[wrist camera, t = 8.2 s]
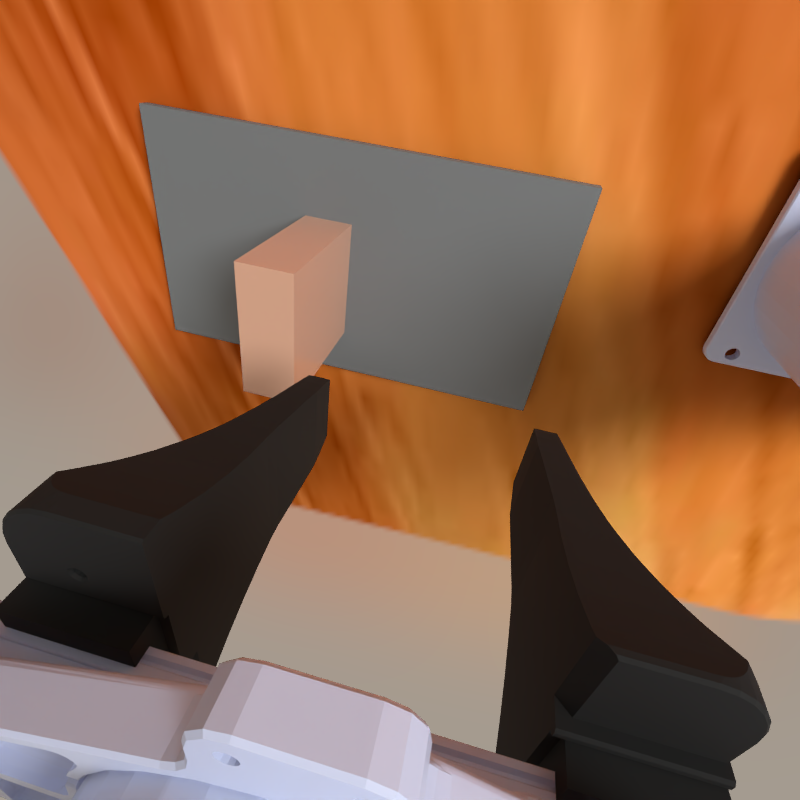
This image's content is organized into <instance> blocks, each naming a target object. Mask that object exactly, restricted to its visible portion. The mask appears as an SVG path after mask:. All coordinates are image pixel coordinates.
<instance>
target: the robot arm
mask: <svg viewBox="0 0 800 800" xmlns="http://www.w3.org/2000/svg"><path fill="white" fill-rule="evenodd" d="M730 349H736V352H735V353H734V354H732V355H725V353H726V352H727V351H728V350H730ZM703 353H704V355H705V356H706V358H707V359H708V360H710V361H712V362H717V363H722V364H726V365H731V366H736V367H740V368H745V369H749V370H754V371H759V372H763V373H768V374H773V375H777V376H782V377H787V378H791V379H793V381H794V382H795V383H796V384H797V385H798V386H799V387H800V180H799V181H798V183H797V185H796V186H795V188H794V190H793V192H792V193H791V195H790V197H789V199H788V200H787V202H786V204H785V205H784V207H783V209H782V211H781V212H780V214H779V216H778V218H777V219H776V221H775V223H774V225H773V226H772V228H771V230H770V231H769V233H768V235H767V237H766V238H765V240H764V242H763V244H762V245H761V247H760V249H759V251H758V252H757V254H756V256H755V257H754V259H753V261H752V263H751V264H750V266H749V268H748V270H747V271H746V273H745V275H744V276H743V278H742V280H741V282H740V283H739V285H738V287H737V289H736V290H735V292H734V294H733V296H732V297H731V299H730V301H729V302H728V304H727V306H726V308H725V309H724V311H723V313H722V315H721V316H720V318H719V320H718V321H717V323H716V325H715V327H714V328H713V330H712V332H711V334H710V335H709V337H708V339H707V341H706V342H705V344H704V346H703ZM329 385H330V380H328V379H324V378H320V377H316V376H311V375H309V376H307V377H305V378H303V379H302V380H300V381H299V382H297V383H295V384H294V385H292V386H290V387H289V388H287V389H286V390H284V391H282V392H281V393H279V394H278V395H276V396H274V397H273V398H271V399H269V400H268V401H266V402H264V403H262V404H261V405H259V406H257V407H256V408H254V409H252V410H250V411H248V412H246V413H244V414H242V415H240V416H239V417H237V418H235V419H233V420H231V421H229V422H227V423H225V424H223V425H221V426H218V427H216V428H214V429H212V430H209V431H207V432H204V433H202V434H200V435H197V436H195V437H192V438H189V439H187V440H184V441H181V442H178V443H175V444H172V445H169V446H166V447H163V448H160V449H157V450H154V451H150V452H147V453H143V454H140V455H136V456H132V457H128V458H124V459H120V460H116V461H112V462H107V463H102V464H97V465H91V466H86V467H81V468H75V469H70V470H64V471H58V472H55V473H54V474H53V475H52V476H51V477H49V478H48V479H47V480H46V481H44V482H43V483H42V484H41V485H40V486H39V487H37V488H36V489H35V490H34V491H33V492H31V493H30V494H29V495H28V496H27V497H25V498H24V499H23V500H22V501H21V502H20V503H18V504H17V505H16V506H15V507H14V508H13V509H11V510H10V511H9V512H8V513H7V514H6V516H5V517H4V518H3V534H4V537H5V539H6V542H7V544H8V546H9V547H10V549H11V551H12V553H13V555H14V556H15V558H16V560H17V562H18V563H19V565H20V567H21V569H22V571H23V573H24V574H25V576H26V578H25V579H24V580H23V581H22V582H21V583H20V584H19V585H18V586H17V587H16V588H15V589H14V590H13V591H12V592H11V593H10V594H9V595H8V596H7V597H6V598H5V599H4V600H3V601H1V600H0V797H3V798H5V799H7V800H731V797H730V794H729V790H728V789H730V790H732V789H734V788H735V786H736V780H735V777H734V773H733V770H732V767H731V763H730V761H732V760H733V759H735V758H736V757H738V756H739V755H741V754H742V753H744V752H745V751H746V750H748V749H750V748H751V747H753V746H754V745H755V744H757V743H758V742H759V741H760V740H761V739H762V738H763V737H764V736H765V735H766V734H767V732H768V731H769V728H770V724H771V719H770V717H769V714H768V711H767V708H766V705H765V702H764V699H763V697H762V694H761V691H760V688H759V685H758V683H757V681H756V678H755V676H754V674H753V671H752V669H751V667H750V665H749V663H748V661H747V660H746V659H745V658H744V657H742V656H741V655H740V654H739V653H738V652H736V651H735V650H734V649H733V648H732V647H730V646H729V645H728V644H727V643H725V642H724V641H723V640H722V639H721V638H719V637H718V636H717V635H716V634H714V633H713V632H712V631H711V630H710V629H709V628H707V627H706V626H705V625H704V624H703V623H702V622H700V621H699V620H698V619H697V618H696V617H695V616H694V615H693V614H692V613H691V612H690V611H688V610H687V609H686V608H685V607H684V606H683V605H682V604H681V603H680V602H679V601H678V600H677V599H676V598H675V597H674V596H673V595H672V594H671V593H670V592H669V591H668V590H667V589H666V588H665V587H664V586H663V585H662V584H661V583H660V582H659V581H658V580H657V579H656V578H655V577H654V576H653V575H652V574H651V573H650V572H649V571H648V569H647V568H646V567H645V566H644V565H643V564H642V563H641V562H640V561H639V560H638V558H637V557H636V556H635V555H634V554H633V553H632V551H631V550H630V549H629V548H628V546H627V545H626V544H625V543H624V541H623V540H622V539H621V538H620V536H619V535H618V534H617V533H616V531H615V530H614V529H613V527H612V526H611V525H610V523H609V522H608V521H607V519H606V518H605V516H604V515H603V513H602V512H601V510H600V509H599V507H598V506H597V504H596V503H595V501H594V500H593V498H592V496H591V495H590V493H589V491H588V490H587V488H586V486H585V484H584V483H583V481H582V479H581V478H580V476H579V474H578V472H577V470H576V469H575V467H574V465H573V463H572V461H571V459H570V457H569V455H568V454H567V452H566V450H565V448H564V446H563V444H562V442H561V440H560V438H559V436H558V435H557V434H555V433H551V432H547V431H543V430H539V429H534V430H533V433H532V436H531V438H530V441H529V444H528V446H527V449H526V451H525V454H524V457H523V459H522V462H521V464H520V467H519V470H518V472H517V475H516V477H515V480H514V483H513V492H512V501H511V511H510V539H511V579H512V580H511V581H512V596H511V597H512V598H511V614H510V615H511V616H510V627H509V638H508V649H507V659H506V669H505V680H504V688H503V698H502V706H501V715H500V724H499V731H498V739H497V747H496V753H493V752H490V751H487V750H483V749H480V748H477V747H474V746H471V745H467V744H464V743H461V742H458V741H455V740H451V739H448V738H445V737H442V736H438V735H435V734H432V733H430V728H429V727H428V725H427V724H426V722H425V721H424V720H423V719H421V718H420V717H419V716H418V715H417V714H416V713H415V712H413V711H412V710H411V709H410V708H408V707H405V706H403V705H401V704H399V703H396V702H394V701H392V700H390V699H387V698H385V697H382V696H378V695H375V694H371V693H368V692H365V691H362V690H359V689H355V688H352V687H349V686H345V685H342V684H339V683H336V682H332V681H329V680H326V679H322V678H319V677H316V676H313V675H309V674H306V673H303V672H299V671H296V670H293V669H290V668H286V667H283V666H280V665H276V664H273V663H270V662H267V661H261V660H255V659H249V658H243V657H242V658H238V659H233V660H229V661H226V662H223V663H220V664H219V666H218V667H216V665H217V662H218V660H219V657H220V654H221V652H222V650H223V647H224V645H225V642H226V639H227V637H228V635H229V632H230V630H231V627H232V625H233V622H234V620H235V618H236V615H237V613H238V611H239V608H240V605H241V603H242V601H243V599H244V596H245V594H246V592H247V590H248V587H249V585H250V583H251V581H252V578H253V576H254V574H255V571H256V569H257V567H258V565H259V563H260V561H261V558H262V556H263V554H264V552H265V550H266V548H267V546H268V543H269V541H270V539H271V537H272V535H273V533H274V532H275V530H276V528H277V526H278V524H279V523H280V521H281V519H282V518H283V516H284V514H285V512H286V511H287V509H288V508H289V506H290V504H291V503H292V501H293V499H294V498H295V496H296V494H297V493H298V491H299V489H300V488H301V486H302V484H303V483H304V481H305V479H306V478H307V476H308V474H309V473H310V471H311V469H312V468H313V466H314V464H315V462H316V460H317V457H318V455H319V453H320V450H321V448H322V446H323V443H324V441H325V438H326V436H327V422H328V403H329Z"/></svg>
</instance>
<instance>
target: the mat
mask: <svg viewBox="0 0 800 800" xmlns="http://www.w3.org/2000/svg"><path fill="white" fill-rule="evenodd" d="M139 106H140V113H141V119H142V125H143V131H144V137H145V143H146V150H147V156H148V162H149V168H150V174H151V181H152V187H153V193H154V199H155V205H156V211H157V218H158V224H159V230H160V236H161V242H162V249H163V255H164V261H165V267H166V273H167V279H168V286H169V292H170V298H171V304H172V310H173V317H174V323H175V329H176V330H180V331H185V332H189V333H193V334H197V335H202V336H206V337H210V338H214V339H219V340H223V341H227V342H232V343H236V344H240V337H239V324H238V311H237V297H236V284H235V271H234V261H235V260H236V259H238V258H239V257H241V256H243V255H244V254H246V253H247V252H249V251H250V250H252V249H254V248H255V247H257V246H258V245H260V244H261V243H263V242H265V241H266V240H268V239H269V238H271V237H272V236H274V235H276V234H277V233H279V232H280V231H282V230H283V229H285V228H286V227H288V226H290V225H291V224H293V223H294V222H296V221H297V220H299V219H301V218H302V217H304V216H305V215H306V216H311V217H316V218H321V219H326V220H331V221H336V222H341V223H346V224H351V225H352V228H351V243H350V257H349V272H348V286H347V301H346V315H345V329H344V334H343V335H342V336H341V338H340V339H339V341H338V342H337V343H336V345H335V346H334V348H333V349H332V351H331V352H330V353H329V355H328V356H327V358H326V359H325V360H324V362H323V363H322V364H325V365H330V366H334V367H338V368H342V369H347V370H351V371H355V372H359V373H364V374H368V375H372V376H377V377H381V378H385V379H389V380H394V381H398V382H402V383H406V384H411V385H415V386H419V387H423V388H428V389H432V390H436V391H441V392H445V393H449V394H453V395H458V396H462V397H466V398H470V399H475V400H479V401H483V402H487V403H492V404H496V405H500V406H505V407H509V408H513V409H517V410H522V411H523V410H524V407H525V404H526V401H527V398H528V396H529V393H530V390H531V387H532V384H533V382H534V379H535V376H536V373H537V370H538V368H539V365H540V362H541V359H542V356H543V354H544V351H545V348H546V345H547V342H548V340H549V337H550V334H551V331H552V328H553V325H554V323H555V320H556V317H557V314H558V311H559V309H560V306H561V303H562V300H563V297H564V295H565V292H566V289H567V286H568V283H569V281H570V278H571V275H572V272H573V269H574V267H575V264H576V261H577V258H578V255H579V253H580V250H581V247H582V244H583V241H584V238H585V236H586V233H587V230H588V227H589V224H590V222H591V219H592V216H593V213H594V210H595V208H596V205H597V202H598V199H599V196H600V194H601V191H602V187H601V186H599V185H594V184H588V183H583V182H577V181H572V180H566V179H561V178H555V177H550V176H545V175H539V174H534V173H528V172H523V171H517V170H512V169H506V168H501V167H496V166H490V165H485V164H479V163H474V162H468V161H463V160H457V159H452V158H447V157H441V156H436V155H430V154H425V153H419V152H414V151H408V150H403V149H398V148H392V147H387V146H381V145H376V144H370V143H365V142H359V141H354V140H349V139H343V138H338V137H332V136H327V135H321V134H316V133H310V132H305V131H300V130H294V129H289V128H283V127H278V126H272V125H267V124H261V123H256V122H251V121H245V120H240V119H234V118H229V117H223V116H218V115H212V114H207V113H202V112H196V111H191V110H185V109H180V108H174V107H169V106H163V105H158V104H153V103H139Z"/></svg>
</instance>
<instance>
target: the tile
mask: <svg viewBox="0 0 800 800" xmlns="http://www.w3.org/2000/svg"><path fill="white" fill-rule="evenodd" d="M351 228H352V225H351V224H346V223H341V222H336V221H331V220H326V219H321V218H316V217H311V216H306V215H305V216H304V217H302V218H301V219H299V220H297V221H296V222H294V223H293V224H291V225H290V226H288V227H286V228H285V229H283V230H282V231H280V232H279V233H277V234H276V235H274V236H272V237H271V238H269V239H268V240H266V241H265V242H263V243H261V244H260V245H258V246H257V247H255V248H254V249H252V250H250V251H249V252H247V253H246V254H244V255H243V256H241V257H239V258H238V259H236V260H235V261H234V271H235V284H236V297H237V311H238V324H239V337H240V350H241V363H242V377H243V390H244V391H246V392H250V393H254V394H258V395H262V396H266V397H270V398H273V397H274V396H276V395H278V394H279V393H281V392H282V391H284V390H286V389H287V388H289V387H290V386H292V385H294V384H295V383H297V382H299V381H300V380H302V379H303V378H305V377H307V376H309V375H311V376H314V375H315V373H316V372H317V370H318V369H319V367H320V366H321V365H322V363H323V362H324V360H325V359H326V358H327V356H328V355H329V353H330V352H331V351H332V349H333V348H334V346H335V345H336V343H337V342H338V341H339V339H340V338H341V336H342V335H343V334H344V329H345V315H346V301H347V286H348V272H349V257H350V243H351Z"/></svg>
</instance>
